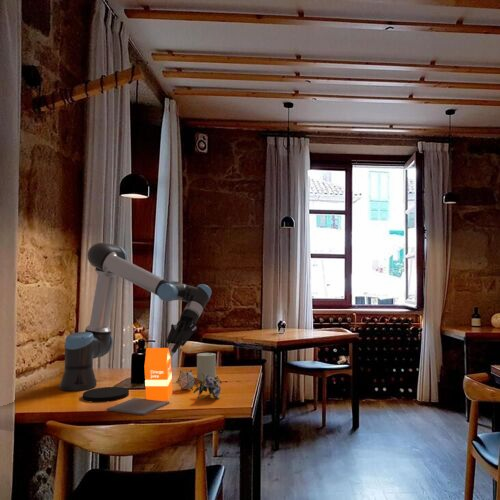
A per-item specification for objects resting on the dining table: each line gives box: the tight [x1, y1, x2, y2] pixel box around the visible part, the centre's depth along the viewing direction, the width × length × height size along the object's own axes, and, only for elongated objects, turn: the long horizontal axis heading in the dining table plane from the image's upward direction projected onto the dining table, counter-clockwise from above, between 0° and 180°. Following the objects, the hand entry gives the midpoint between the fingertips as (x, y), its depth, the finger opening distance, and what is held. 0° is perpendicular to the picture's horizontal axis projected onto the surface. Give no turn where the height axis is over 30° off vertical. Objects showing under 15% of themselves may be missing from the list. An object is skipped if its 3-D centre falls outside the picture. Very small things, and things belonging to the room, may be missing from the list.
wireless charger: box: [82, 386, 130, 403], centre depth 181 cm, size 18×18×2 cm
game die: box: [175, 369, 197, 392], centre depth 191 cm, size 9×8×10 cm
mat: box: [106, 397, 170, 416], centre depth 165 cm, size 16×16×1 cm
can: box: [196, 352, 217, 382], centre depth 212 cm, size 9×9×12 cm
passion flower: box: [193, 373, 223, 400], centre depth 177 cm, size 11×11×12 cm
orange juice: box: [143, 347, 173, 402], centre depth 176 cm, size 8×9×20 cm
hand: (166, 358), depth 180 cm, fingers closed
